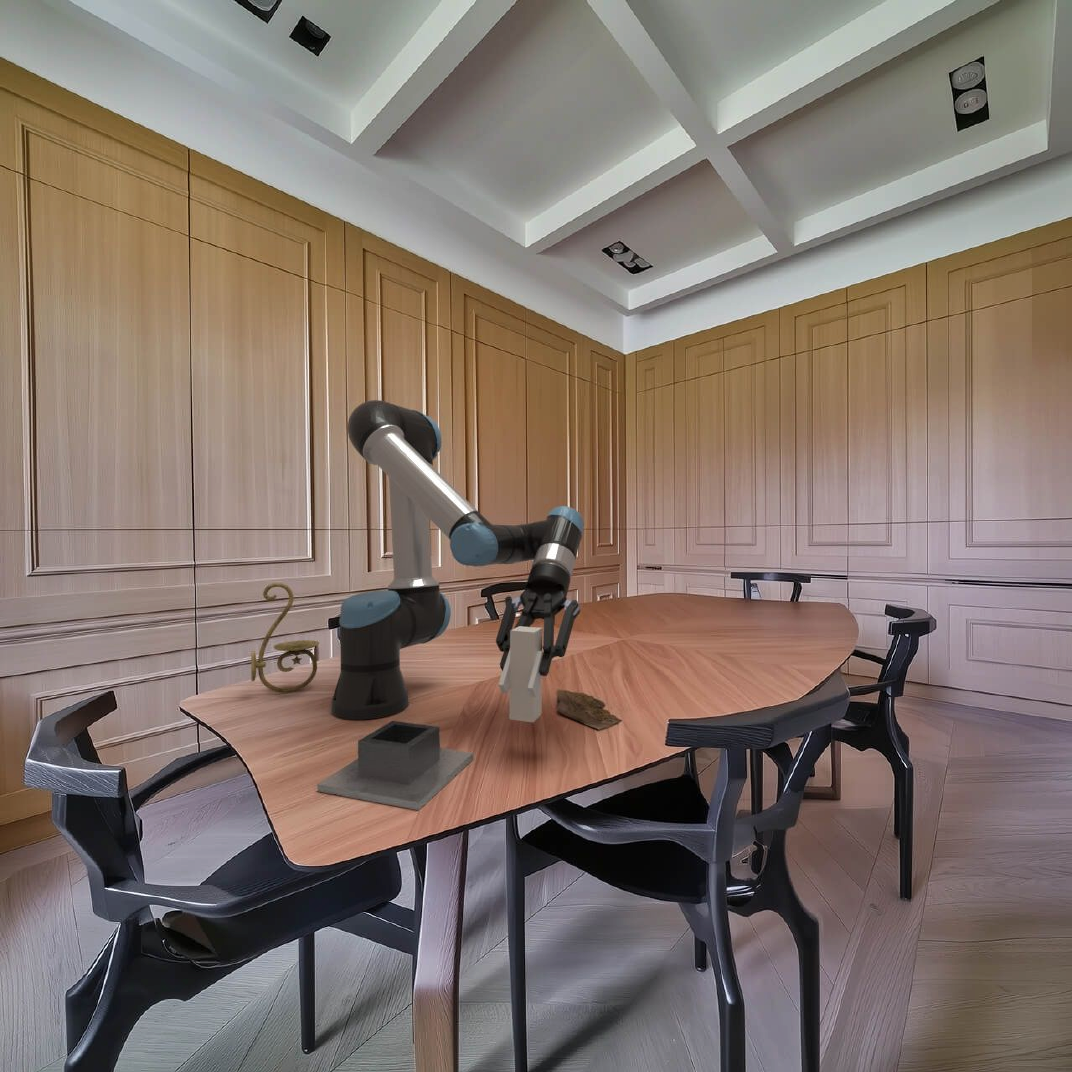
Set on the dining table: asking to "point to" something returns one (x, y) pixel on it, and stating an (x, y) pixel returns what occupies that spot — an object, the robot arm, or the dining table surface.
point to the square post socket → (398, 767)
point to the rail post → (524, 673)
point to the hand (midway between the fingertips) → (517, 690)
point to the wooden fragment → (585, 709)
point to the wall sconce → (283, 648)
